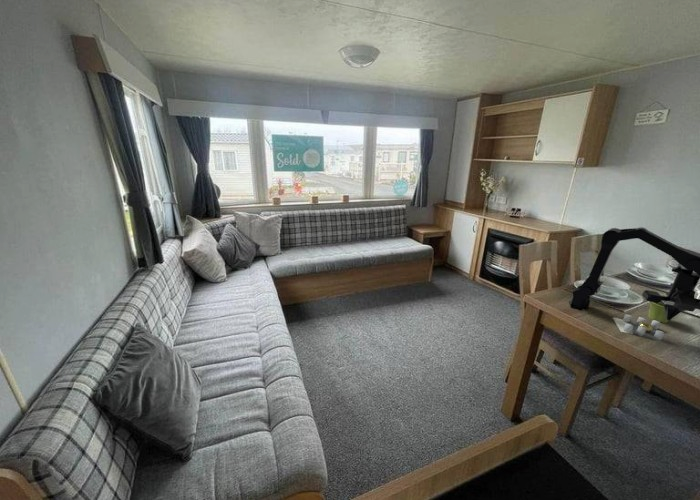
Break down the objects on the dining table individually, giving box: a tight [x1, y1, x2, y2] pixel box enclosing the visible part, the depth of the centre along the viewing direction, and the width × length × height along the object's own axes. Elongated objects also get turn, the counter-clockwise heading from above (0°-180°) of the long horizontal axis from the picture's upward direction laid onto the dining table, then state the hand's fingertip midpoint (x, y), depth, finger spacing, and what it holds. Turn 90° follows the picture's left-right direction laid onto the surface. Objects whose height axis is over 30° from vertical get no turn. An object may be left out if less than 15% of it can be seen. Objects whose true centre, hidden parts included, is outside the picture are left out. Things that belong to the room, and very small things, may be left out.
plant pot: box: [648, 302, 670, 324], centre depth 129 cm, size 9×9×9 cm
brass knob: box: [637, 322, 653, 333], centre depth 121 cm, size 4×4×3 cm
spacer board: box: [612, 313, 666, 343], centre depth 122 cm, size 15×12×4 cm
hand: (667, 319), depth 117 cm, fingers closed
